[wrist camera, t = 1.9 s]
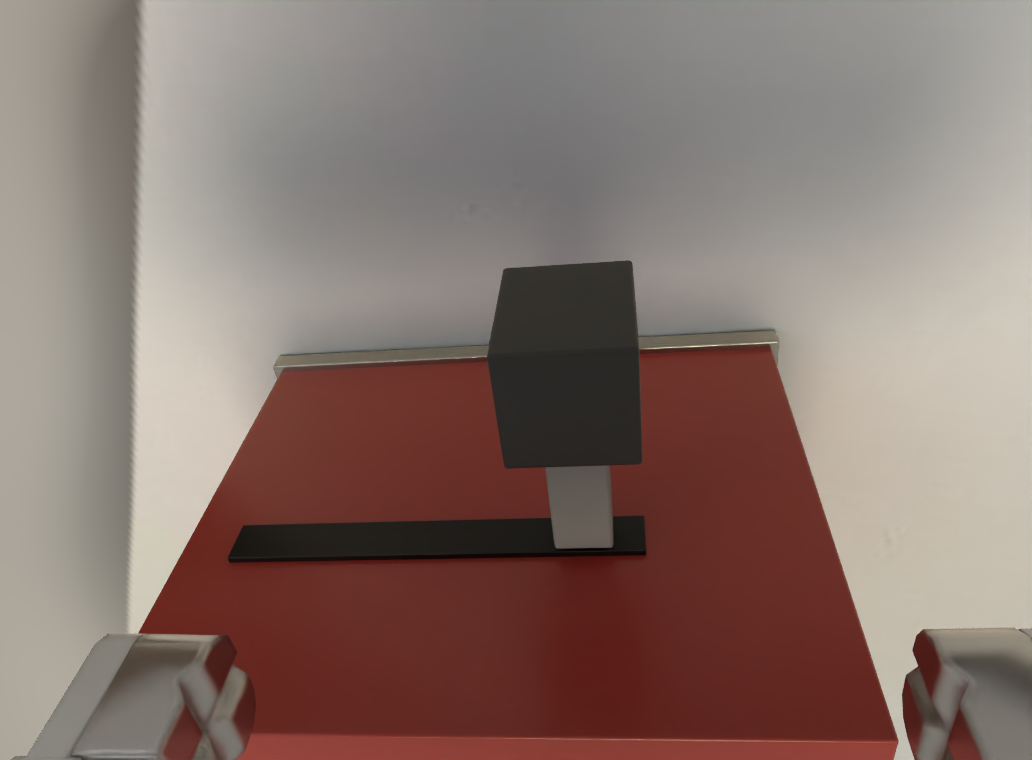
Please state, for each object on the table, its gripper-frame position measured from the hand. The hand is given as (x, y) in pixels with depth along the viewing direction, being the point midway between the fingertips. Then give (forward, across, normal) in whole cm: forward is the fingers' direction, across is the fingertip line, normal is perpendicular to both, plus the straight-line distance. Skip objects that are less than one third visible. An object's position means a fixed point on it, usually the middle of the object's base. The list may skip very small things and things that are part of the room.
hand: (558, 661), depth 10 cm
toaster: (+14, +2, +9) cm, 17 cm away
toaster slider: (+8, 0, +1) cm, 8 cm away
